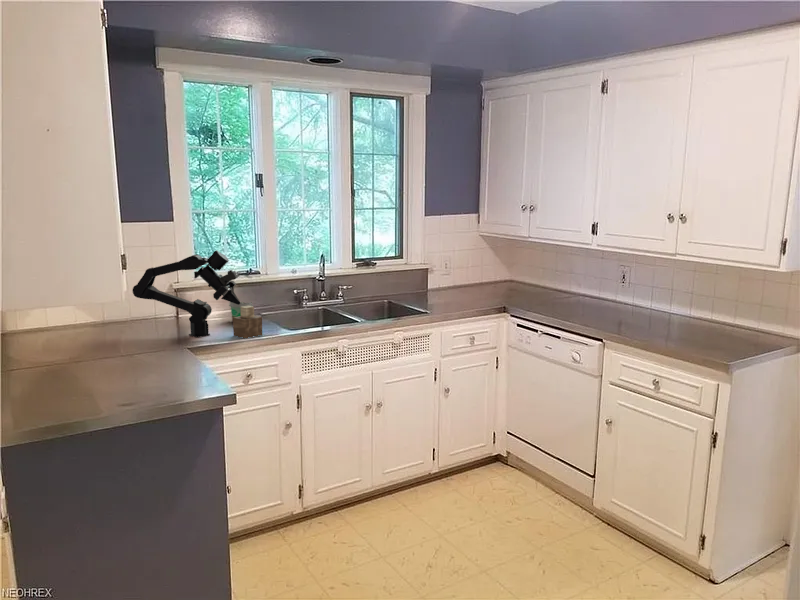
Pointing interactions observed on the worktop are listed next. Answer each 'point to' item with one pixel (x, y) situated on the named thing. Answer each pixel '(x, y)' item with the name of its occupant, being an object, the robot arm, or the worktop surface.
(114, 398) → the worktop surface
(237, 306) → the food container
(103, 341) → the worktop surface
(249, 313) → the peg
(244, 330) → the walnut block
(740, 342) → the worktop surface
